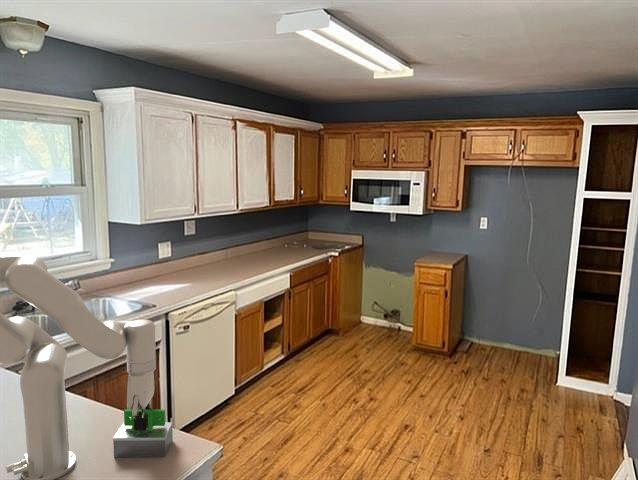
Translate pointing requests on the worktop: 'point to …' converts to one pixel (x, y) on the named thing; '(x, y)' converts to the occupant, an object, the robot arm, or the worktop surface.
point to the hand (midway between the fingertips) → (143, 425)
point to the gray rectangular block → (143, 442)
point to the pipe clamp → (150, 418)
